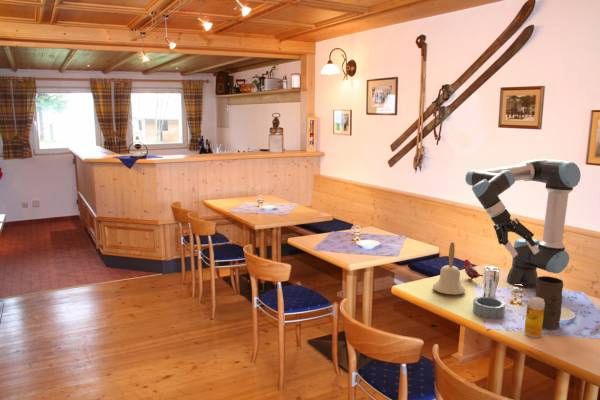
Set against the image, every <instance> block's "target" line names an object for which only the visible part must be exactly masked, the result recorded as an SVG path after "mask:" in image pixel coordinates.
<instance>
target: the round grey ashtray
mask: <svg viewBox="0 0 600 400" xmlns="http://www.w3.org/2000/svg"><path fill="white" fill-rule="evenodd" d="M505 308H506V303H504V301H502V300H500V299H498V298H496V299H495V298H491V297H482V296H479V297H474V299H473V303H472V312H473V313H474V314H475V315H476V316H477V317H480V318H485V319H488V320H489V319H490V320H498V319H502V318H503V317H504V316H505Z"/></svg>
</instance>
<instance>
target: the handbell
mask: <svg viewBox="0 0 600 400" xmlns="http://www.w3.org/2000/svg"><path fill="white" fill-rule="evenodd" d="M454 259H455V242H454V241H451V242H450V244H449V249H448V264H447V265H443V266H442V267H441V269H440V273H439V275H440V276H439V279H438V280H437V281H436V282H435V283H433V284H432V288H433V290H435V291H436V292H439V293H441V294H446V295H453V296H454V295H462V294H464V293H465V292H466V288H465V286H464V285H463V284H462V282H461V281H460V278H461V272H460V269H459V268H458V267H457V266H455V265H453V263H454Z"/></svg>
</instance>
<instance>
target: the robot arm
mask: <svg viewBox="0 0 600 400" xmlns="http://www.w3.org/2000/svg"><path fill="white" fill-rule="evenodd" d="M464 178H465V182H466V184H467V186H472V188H471V191H472V192H473V194H474V196H475V197H476V199H477V200H478V201H479V203H480V204H481V206H482V207H483V209H484V210H485V212H486V213H487V214H488V216H489V217H491V218H490V219H491V221H492V222H493V224H494V225H493V229H494V232H495V234H496V238H497V241H498V242H497V243H498V244H499V245H503V246H504V247H505V249H506V250H507V251H508V252H509V254H510V255H511V257H512V259H511V260H512V261H511V268H510V269H509V271H508V274H507V276H506V282H508V284H511V285H514V284H522V285H523V288H536V284H537V283H536V281H537V278H538V277H539V275H538V271H537V270H538V269H540V270H541V271H542V270H543V271H546V272H547V273H551V274H559V273H562V272H563V271H564V270H565V269H566V268H567V266H568V264H569V262H570V255H569V254H570V253H568V252H567V251H566V245H565V244H564V243H563V239H564V229H565V222H566V216H567V215H566V214H567V207H568V200H569V194H570V193H571V192H572V191H574V188H575V187H577V186H578V185H579V183H580V181H581V170H580V167H579V166H578V164H576V163H575V162H572V161H568V160H561V159H560V160H559V159H549V158H540V159H539V158H538V159H533V160H527V161H522V162H520V164H515V165H510V166H502V167H496V168H490V169H489V168H488V169H483V170H481V169H480V170H478V169H470V170H468V171H467V172H466V174H465V177H464ZM517 181H518V182H519V181H523V182H531V181H532V182H539V183H543V184H545V189H546V191H547V193H548V194H547V200H546V201H547V202H546V210H545V215H544V217H545V218H544V225H543V231H542V238H541V240H539V239H536V238H533V237H534V236H535V234H534V233H533V232H532V231H531V230H529V228H527V227H526V226H525V225H524V224H523V223H521V222H520V221H519V220H518V218H514V219H511V217H512V216H511V213H510V212H509V210H508V209H506V206H505V204H504V203H503V202H502V200H501V199H500V197H499V196H500V195H501V194H503V193H504V192H506V190H509V189H510V188H511V187H512V186H513V185H514V184H515V182H517ZM510 232H511V233H515V234H516V235H518V236H519V237H520V238H518V239H515V241H514V244H512V243H511V242H510V240H509V233H510ZM514 286H515V285H514Z"/></svg>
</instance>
